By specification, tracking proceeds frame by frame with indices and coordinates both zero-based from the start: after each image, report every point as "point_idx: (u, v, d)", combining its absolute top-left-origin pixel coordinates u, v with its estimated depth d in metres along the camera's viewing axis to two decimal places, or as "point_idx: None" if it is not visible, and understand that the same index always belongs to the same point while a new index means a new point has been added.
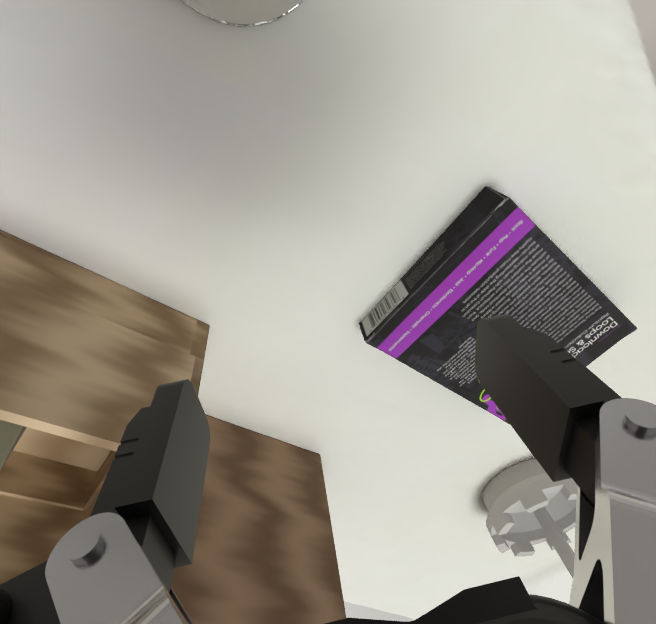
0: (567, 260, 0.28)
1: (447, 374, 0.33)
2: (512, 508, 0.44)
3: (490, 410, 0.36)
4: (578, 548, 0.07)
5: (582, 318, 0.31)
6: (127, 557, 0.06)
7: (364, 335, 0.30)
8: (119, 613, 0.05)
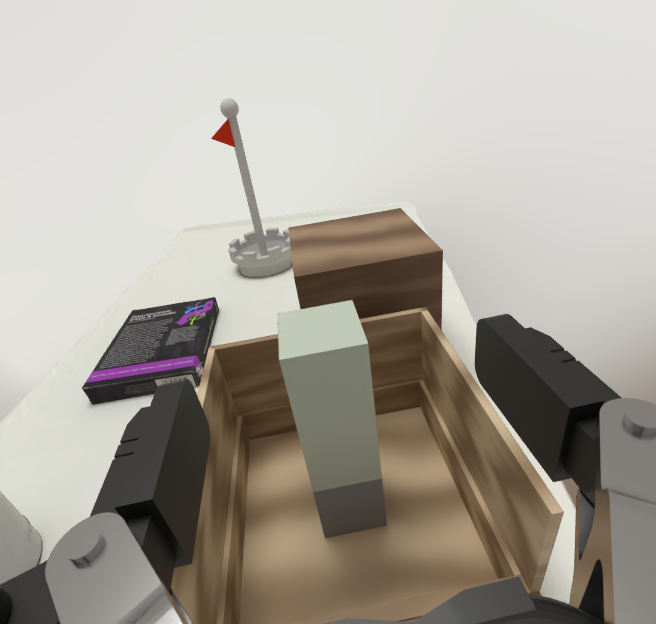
0: (106, 351, 0.55)
1: (194, 334, 0.55)
2: (263, 256, 0.72)
3: (209, 308, 0.62)
4: (578, 548, 0.07)
5: (134, 325, 0.60)
6: (127, 557, 0.06)
7: (193, 376, 0.49)
8: (119, 613, 0.05)
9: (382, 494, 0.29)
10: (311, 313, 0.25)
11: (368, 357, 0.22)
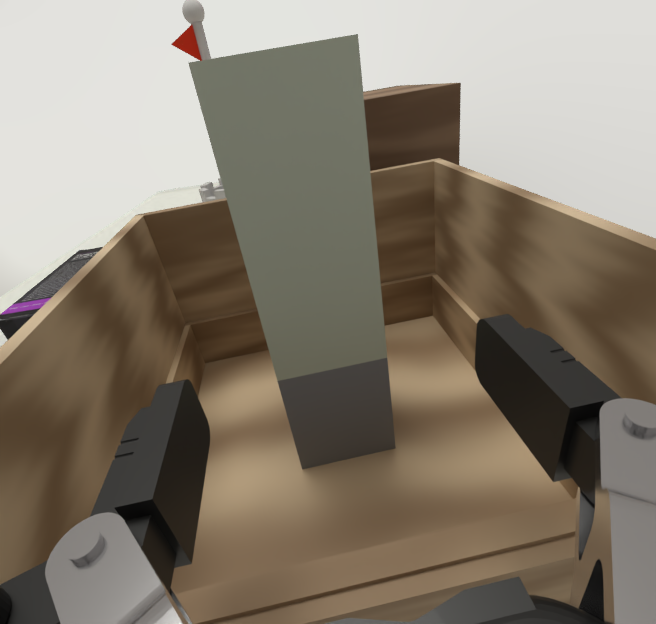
0: None
1: None
2: None
3: None
4: (578, 548, 0.07)
5: (77, 262, 0.49)
6: (127, 557, 0.06)
7: None
8: (119, 613, 0.05)
9: (388, 389, 0.19)
10: None
11: (358, 72, 0.12)
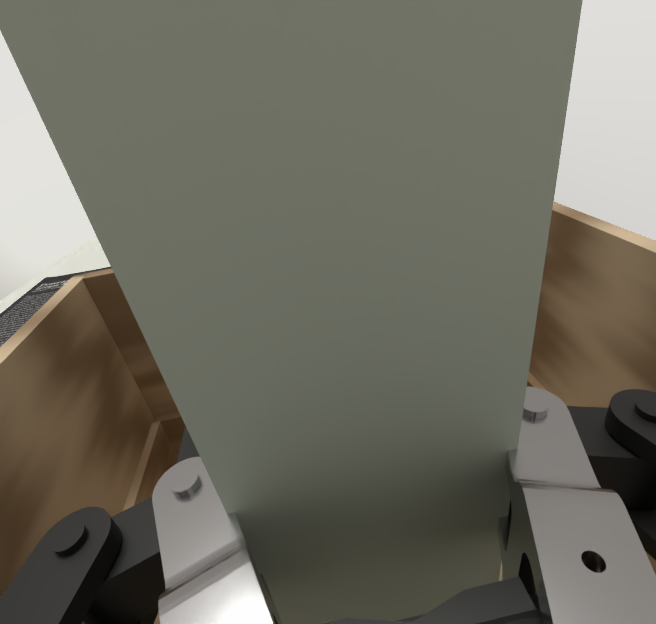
0: None
1: None
2: None
3: None
4: (502, 538, 0.07)
5: (39, 295, 0.41)
6: None
7: None
8: (205, 550, 0.06)
9: None
10: None
11: (570, 35, 0.04)
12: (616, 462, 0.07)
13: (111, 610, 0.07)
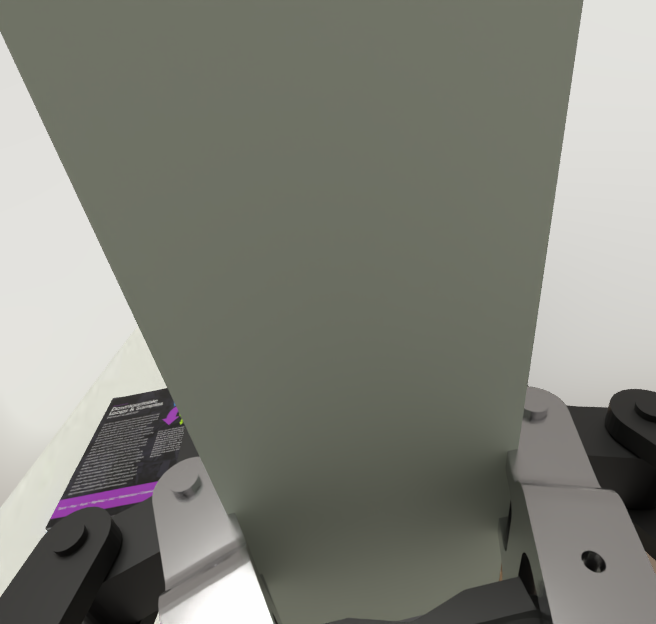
0: (78, 465, 0.45)
1: None
2: None
3: None
4: (502, 538, 0.07)
5: (114, 424, 0.51)
6: None
7: None
8: (205, 550, 0.06)
9: None
10: None
11: (572, 36, 0.04)
12: (616, 462, 0.07)
13: (111, 610, 0.07)
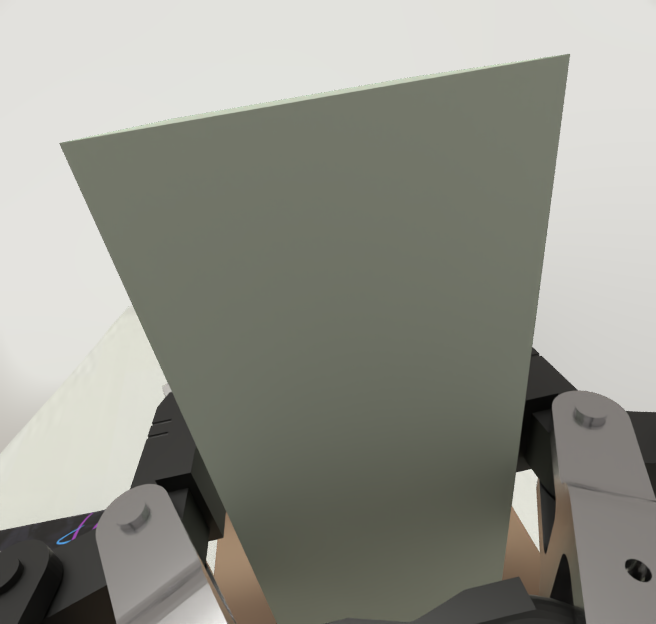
0: None
1: None
2: None
3: None
4: (542, 541, 0.07)
5: None
6: (172, 523, 0.06)
7: None
8: (158, 581, 0.06)
9: None
10: (279, 100, 0.07)
11: (550, 157, 0.04)
12: None
13: None
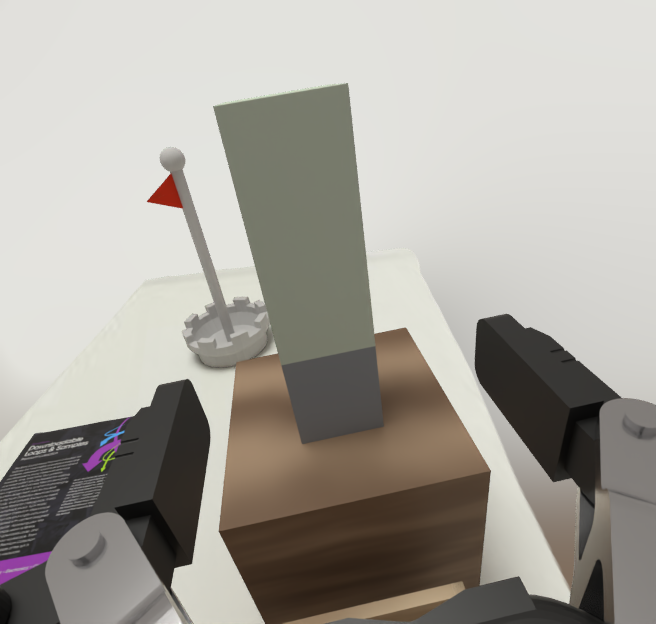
0: None
1: None
2: (225, 344, 0.56)
3: None
4: (578, 548, 0.07)
5: (27, 468, 0.43)
6: (127, 557, 0.06)
7: None
8: (119, 613, 0.05)
9: (376, 373, 0.21)
10: None
11: (349, 112, 0.15)
12: None
13: None
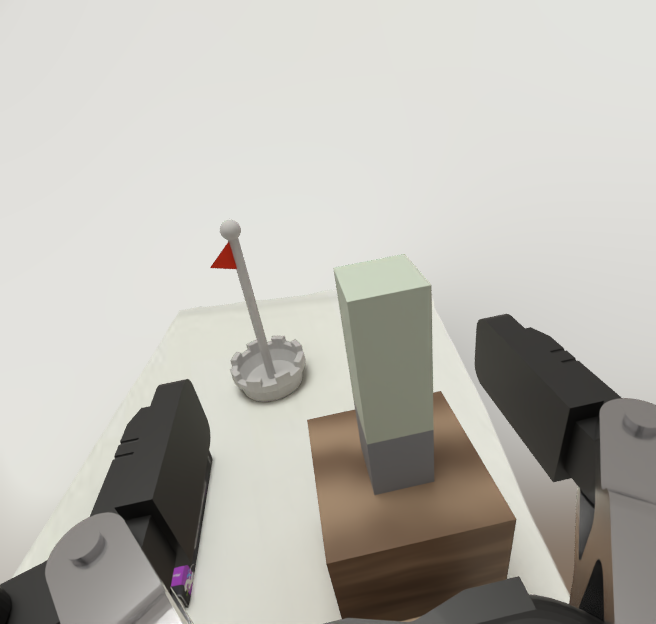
0: None
1: None
2: (270, 382, 0.64)
3: None
4: (578, 548, 0.07)
5: None
6: (127, 557, 0.06)
7: (181, 599, 0.40)
8: (119, 613, 0.05)
9: (432, 447, 0.30)
10: (367, 265, 0.26)
11: (430, 299, 0.23)
12: None
13: None
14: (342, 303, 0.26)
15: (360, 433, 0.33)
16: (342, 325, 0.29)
